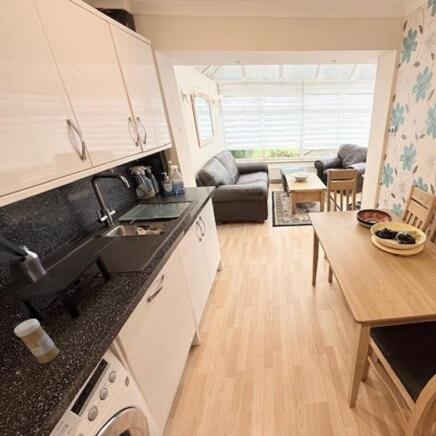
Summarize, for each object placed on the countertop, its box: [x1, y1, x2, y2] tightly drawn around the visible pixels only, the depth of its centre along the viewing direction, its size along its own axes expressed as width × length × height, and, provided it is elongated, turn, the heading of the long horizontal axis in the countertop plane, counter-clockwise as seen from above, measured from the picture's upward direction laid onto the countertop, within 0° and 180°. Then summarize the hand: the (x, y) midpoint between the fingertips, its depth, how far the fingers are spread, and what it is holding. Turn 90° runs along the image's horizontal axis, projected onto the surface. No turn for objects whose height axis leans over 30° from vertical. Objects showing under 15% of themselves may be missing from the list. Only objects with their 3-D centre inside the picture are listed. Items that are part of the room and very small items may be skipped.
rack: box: [14, 254, 112, 323], centre depth 91 cm, size 14×22×12 cm, turn 8°
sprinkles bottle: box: [13, 318, 60, 364], centre depth 68 cm, size 5×5×14 cm
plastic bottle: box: [17, 244, 47, 282], centre depth 96 cm, size 6×7×20 cm
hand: (4, 303), depth 58 cm, fingers open, 13 cm apart
